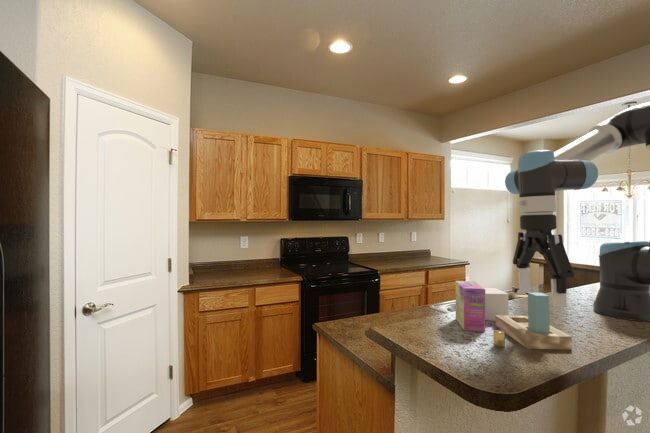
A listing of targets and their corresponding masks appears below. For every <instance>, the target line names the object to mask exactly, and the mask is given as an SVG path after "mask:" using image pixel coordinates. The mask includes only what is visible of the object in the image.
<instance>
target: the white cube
mask: <svg viewBox="0 0 650 433" xmlns="http://www.w3.org/2000/svg"><path fill="white" fill-rule="evenodd" d="M483 288H484V289H485V321H495V315H509V310H510V308H509V293H508V292H505V291H503V290H500V289H498V288H496V287H483ZM509 316H510V315H509Z"/></svg>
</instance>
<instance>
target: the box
mask: <svg viewBox="0 0 650 433" xmlns="http://www.w3.org/2000/svg"><path fill="white" fill-rule="evenodd" d="M454 285H455V319H456V321H457V323H459V326H460V327H461V329H462V330H463V331H469V332H486V320H485V289H484V288H485V287H482V286H481V285H480V284H478V283H477V282H475V281H471V280H470V281H469V280H467V281H466V280H455V283H454Z"/></svg>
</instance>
